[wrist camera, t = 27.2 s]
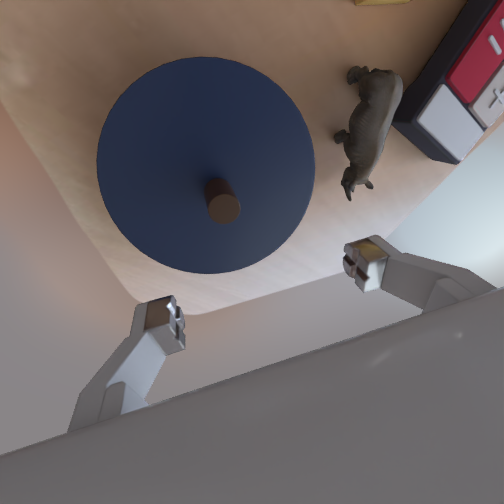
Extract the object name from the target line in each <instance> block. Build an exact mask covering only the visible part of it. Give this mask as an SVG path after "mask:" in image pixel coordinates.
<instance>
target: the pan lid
mask: <svg viewBox="0 0 504 504" xmlns="http://www.w3.org/2000/svg"><path fill="white" fill-rule="evenodd" d="M97 178H98V182H99V187H100V192H101V195H102V198H103V201H104V203H105V206H106V208H107V210H108V212H109V214H110V216H111V218H112V220H113V221H114V223H115V224H116V226H117V227H118V229H119V230H120V231H121V233H122V234H123V235H124V236H125V237H126V238H127V239H128V240H129V241H130V242H131V243H132V244H133V245H134V246H135V247H136V248H137V249H139V250H140V251H141V252H143V253H144V254H146V255H147V256H148V257H150V258H152V259H154V260H155V261H157V262H159V263H161V264H163V265H166V266H169V267H171V268H174V269H177V270H181V271H185V272H191V273H199V274H218V273H225V272H231V271H235V270H239V269H242V268H245V267H248V266H250V265H252V264H254V263H256V262H259V261H260V260H262V259H264V258H265V257H267V256H269V255H270V254H271V253H273V252H274V251H275V250H277V249H278V248H279V247H280V246H281V245H282V244H283V243H284V242H285V241H286V240H287V239H288V238H289V237H290V236H291V234H292V233H293V232H294V230H295V229H296V228H297V226H298V225H299V223H300V221H301V220H302V218H303V216H304V214H305V212H306V209H307V207H308V205H309V202H310V198H311V195H312V191H313V185H314V179H315V157H314V150H313V145H312V140H311V137H310V134H309V131H308V128H307V125H306V123H305V121H304V119H303V117H302V115H301V113H300V111H299V110H298V108H297V107H296V105H295V104H294V102H293V101H292V100H291V98H290V97H289V96H288V95H287V94H286V93H285V92H284V91H283V90H282V89H281V87H279V86H278V85H277V84H276V83H274V82H273V81H272V80H271V79H270V78H268V77H267V76H265V75H264V74H262V73H260V72H258V71H257V70H255V69H253V68H251V67H249V66H246V65H244V64H241V63H239V62H236V61H232V60H227V59H222V58H217V57H193V58H185V59H179V60H176V61H173V62H169V63H166V64H163V65H161V66H159V67H157V68H155V69H153V70H151V71H149V72H147V73H146V74H144V75H143V76H142V77H140V78H139V79H138V80H136V81H135V82H134V83H132V84H131V85H130V86H129V87H128V88H127V89H126V91H125V92H124V93H123V94H122V95H121V96H120V97H119V98H118V100H117V101H116V103H115V104H114V106H113V107H112V109H111V110H110V112H109V114H108V116H107V119H106V121H105V123H104V125H103V128H102V131H101V135H100V139H99V143H98V151H97Z"/></svg>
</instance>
